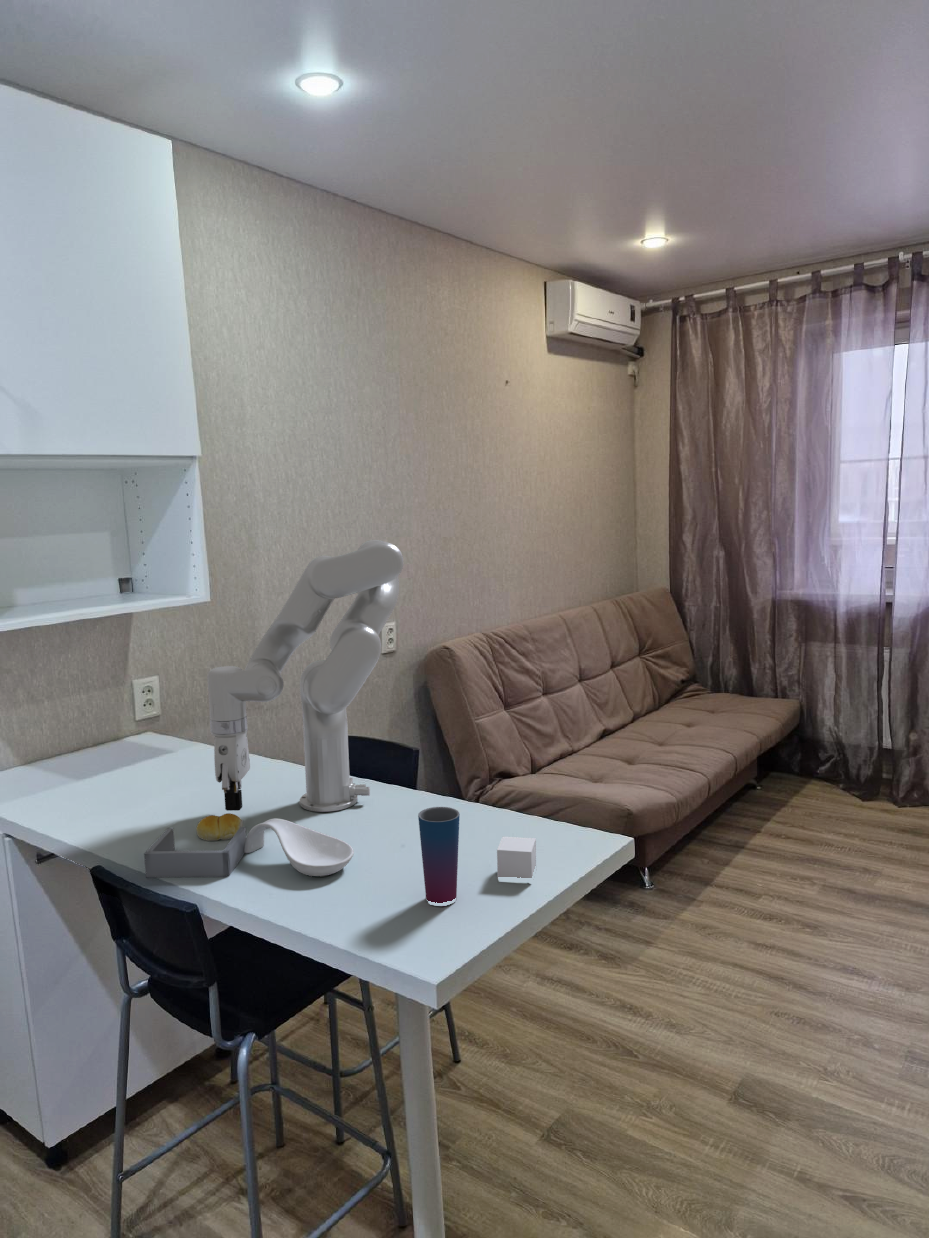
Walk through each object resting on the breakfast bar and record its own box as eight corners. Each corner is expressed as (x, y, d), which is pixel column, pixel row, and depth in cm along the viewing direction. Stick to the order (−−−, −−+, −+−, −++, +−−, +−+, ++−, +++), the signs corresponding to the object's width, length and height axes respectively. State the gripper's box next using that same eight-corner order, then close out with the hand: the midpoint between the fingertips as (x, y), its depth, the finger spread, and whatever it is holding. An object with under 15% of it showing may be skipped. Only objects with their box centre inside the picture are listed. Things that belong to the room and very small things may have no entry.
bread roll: (200, 828, 180) (199, 810, 180) (244, 825, 182) (243, 807, 181) (193, 844, 172) (191, 824, 172) (239, 841, 173) (238, 821, 173)
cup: (461, 890, 150) (459, 805, 147) (462, 908, 143) (460, 821, 141) (421, 891, 149) (418, 807, 147) (420, 910, 143) (417, 822, 140)
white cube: (536, 870, 157) (536, 838, 156) (531, 885, 151) (531, 851, 150) (503, 867, 158) (502, 836, 157) (497, 882, 152) (496, 849, 152)
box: (246, 849, 169) (245, 826, 168) (229, 876, 157) (227, 852, 156) (169, 850, 169) (167, 827, 168) (146, 877, 157) (144, 853, 157)
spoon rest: (367, 865, 161) (365, 828, 160) (324, 890, 151) (322, 851, 150) (273, 840, 173) (271, 805, 172) (228, 862, 164) (225, 825, 163)
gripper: (236, 735, 177) (241, 822, 179) (255, 716, 191) (260, 796, 194) (199, 735, 177) (205, 822, 179) (221, 716, 192) (226, 797, 194)
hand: (233, 808), depth 187 cm, fingers closed
